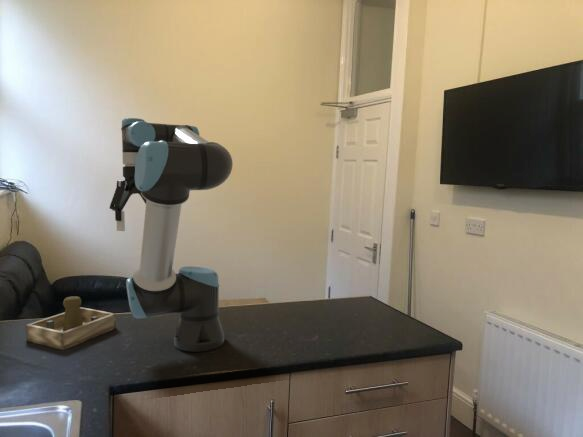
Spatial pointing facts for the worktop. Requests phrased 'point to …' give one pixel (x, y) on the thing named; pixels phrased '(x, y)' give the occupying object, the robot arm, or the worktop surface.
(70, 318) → the cork
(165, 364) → the worktop surface
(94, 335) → the socket box
